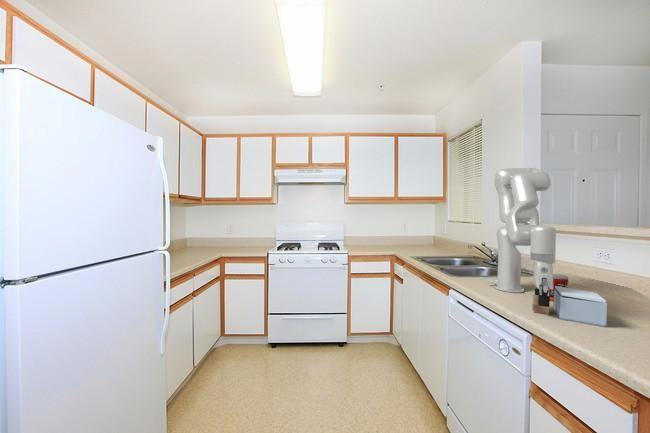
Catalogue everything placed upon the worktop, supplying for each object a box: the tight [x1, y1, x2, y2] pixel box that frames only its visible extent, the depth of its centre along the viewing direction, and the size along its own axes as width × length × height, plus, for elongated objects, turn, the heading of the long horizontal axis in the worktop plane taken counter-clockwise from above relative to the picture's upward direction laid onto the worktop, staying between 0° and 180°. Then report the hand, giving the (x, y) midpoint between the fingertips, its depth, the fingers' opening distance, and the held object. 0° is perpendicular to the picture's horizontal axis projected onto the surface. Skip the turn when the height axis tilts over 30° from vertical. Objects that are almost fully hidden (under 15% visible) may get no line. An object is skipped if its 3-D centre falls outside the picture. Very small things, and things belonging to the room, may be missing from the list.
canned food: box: [549, 273, 569, 303], centre depth 120 cm, size 8×8×11 cm
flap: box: [555, 286, 607, 303], centre depth 100 cm, size 12×11×1 cm
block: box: [531, 293, 550, 316], centre depth 105 cm, size 4×4×6 cm
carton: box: [553, 289, 608, 328], centre depth 100 cm, size 12×12×8 cm
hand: (541, 302), depth 104 cm, fingers open, 9 cm apart
